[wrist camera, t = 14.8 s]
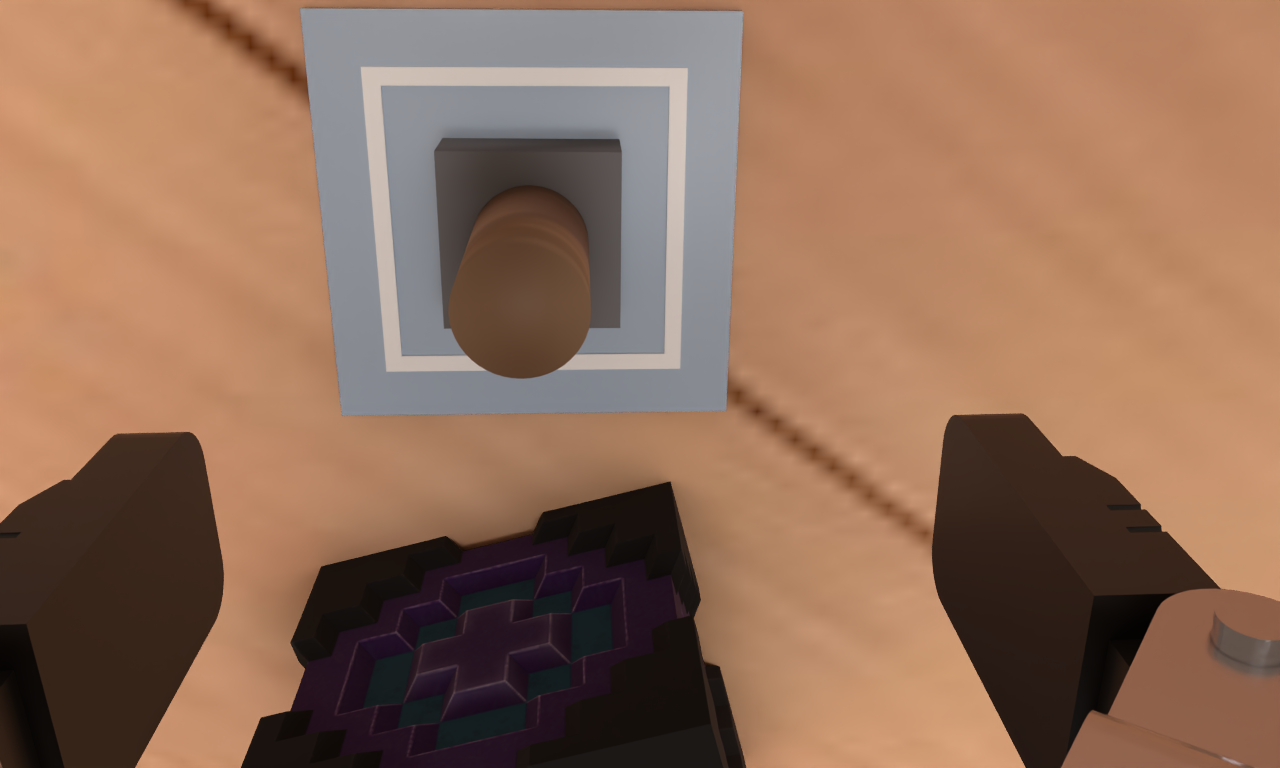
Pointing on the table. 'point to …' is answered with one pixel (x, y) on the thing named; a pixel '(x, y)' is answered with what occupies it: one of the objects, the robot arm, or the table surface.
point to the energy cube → (511, 653)
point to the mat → (532, 109)
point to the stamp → (528, 247)
